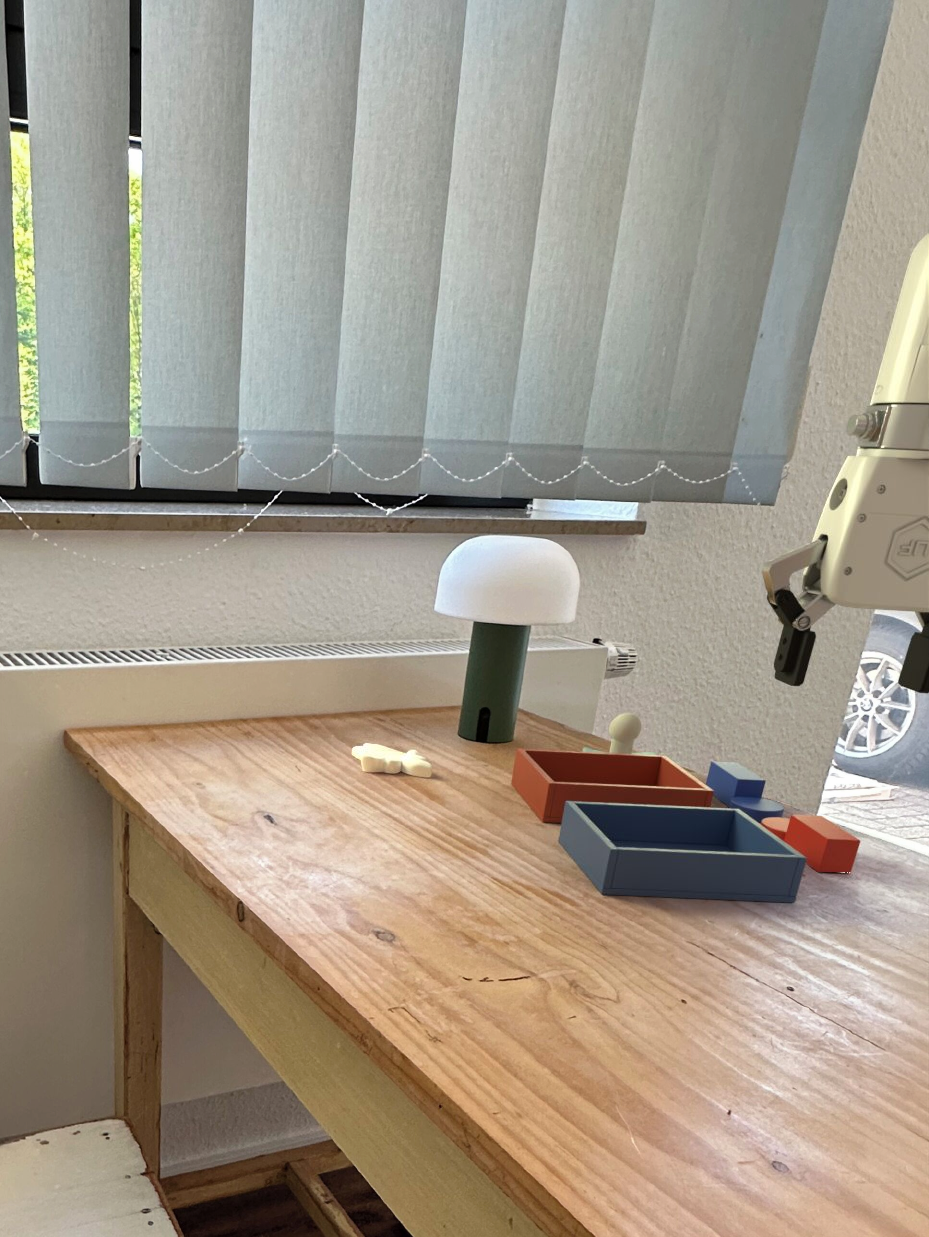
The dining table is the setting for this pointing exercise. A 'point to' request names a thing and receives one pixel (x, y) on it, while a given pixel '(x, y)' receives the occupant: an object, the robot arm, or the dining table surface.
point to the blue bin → (679, 852)
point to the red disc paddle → (816, 841)
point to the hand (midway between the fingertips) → (850, 685)
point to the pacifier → (623, 734)
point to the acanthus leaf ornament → (391, 760)
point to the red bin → (602, 781)
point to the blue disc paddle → (741, 790)
